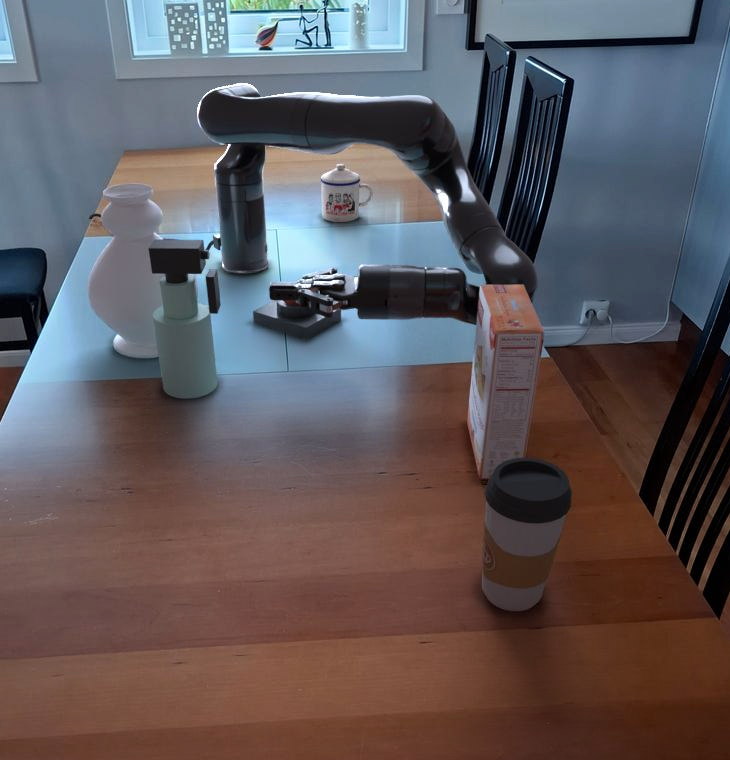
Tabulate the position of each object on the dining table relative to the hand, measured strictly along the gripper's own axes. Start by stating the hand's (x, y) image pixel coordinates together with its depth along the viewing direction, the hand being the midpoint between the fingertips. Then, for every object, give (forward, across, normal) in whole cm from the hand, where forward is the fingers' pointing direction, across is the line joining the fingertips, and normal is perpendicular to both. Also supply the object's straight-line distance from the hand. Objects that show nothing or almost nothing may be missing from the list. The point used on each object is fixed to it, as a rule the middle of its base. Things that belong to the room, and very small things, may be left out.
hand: (270, 291), depth 115 cm
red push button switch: (-1, -24, +15) cm, 29 cm away
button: (-1, -24, +12) cm, 27 cm away
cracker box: (-31, +17, +16) cm, 39 cm away
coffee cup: (-30, +45, +15) cm, 57 cm away
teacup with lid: (-8, -83, +16) cm, 85 cm away
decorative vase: (+23, -15, +16) cm, 32 cm away
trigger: (+8, 0, +3) cm, 9 cm away
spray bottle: (+13, 0, +15) cm, 20 cm away
